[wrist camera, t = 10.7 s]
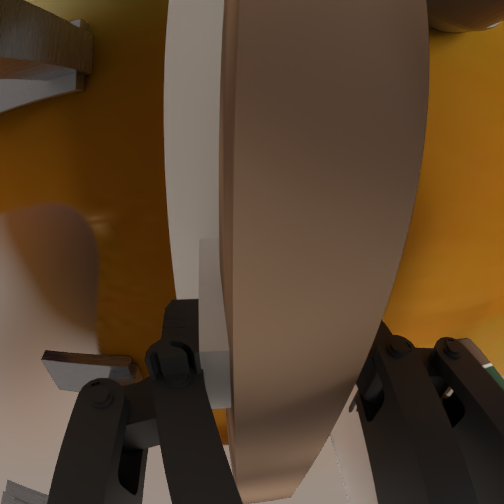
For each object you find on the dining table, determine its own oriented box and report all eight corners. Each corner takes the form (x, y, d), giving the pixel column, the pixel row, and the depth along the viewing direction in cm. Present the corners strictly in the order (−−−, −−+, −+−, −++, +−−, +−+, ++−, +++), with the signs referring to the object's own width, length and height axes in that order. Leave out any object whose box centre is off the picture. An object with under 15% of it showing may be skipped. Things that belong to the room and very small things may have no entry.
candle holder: (425, 349, 23) (487, 444, 13) (372, 411, 27) (410, 497, 16) (347, 347, 20) (415, 484, 10) (295, 416, 24) (327, 527, 14)
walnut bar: (226, -35, 6) (249, -130, 1) (324, -23, 6) (408, -85, 2) (228, 439, 17) (237, 504, 12) (275, 434, 17) (290, 497, 13)
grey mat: (171, -11, 9) (170, -15, 8) (339, 3, 10) (343, 0, 9) (193, 395, 21) (194, 400, 20) (294, 387, 22) (295, 392, 21)
